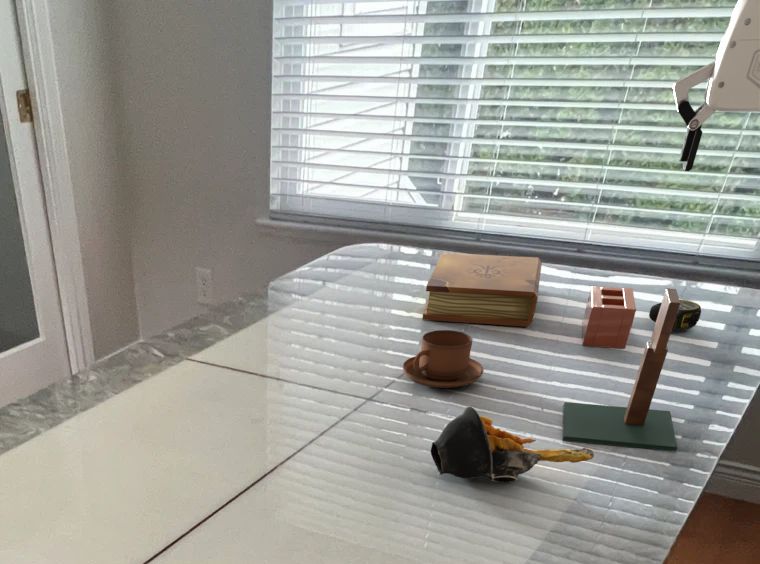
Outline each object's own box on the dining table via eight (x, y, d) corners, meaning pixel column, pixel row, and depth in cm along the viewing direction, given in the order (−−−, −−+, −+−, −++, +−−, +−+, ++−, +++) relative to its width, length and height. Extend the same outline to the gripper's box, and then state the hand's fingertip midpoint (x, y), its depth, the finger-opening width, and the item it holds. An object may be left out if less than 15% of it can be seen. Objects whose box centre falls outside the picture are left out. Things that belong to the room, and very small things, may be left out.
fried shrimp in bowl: (417, 423, 106) (558, 367, 104) (441, 506, 110) (578, 455, 107) (432, 424, 98) (586, 364, 95) (457, 515, 101) (607, 459, 98)
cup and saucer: (460, 401, 123) (467, 357, 119) (387, 384, 128) (391, 342, 124) (494, 375, 130) (502, 333, 126) (423, 360, 135) (429, 320, 131)
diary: (531, 328, 145) (538, 292, 141) (422, 320, 150) (426, 285, 146) (536, 289, 161) (543, 256, 158) (437, 284, 166) (442, 251, 162)
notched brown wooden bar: (641, 413, 116) (681, 288, 106) (644, 431, 112) (685, 303, 101) (623, 412, 117) (661, 287, 106) (625, 429, 113) (664, 301, 102)
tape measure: (644, 323, 146) (650, 300, 143) (680, 319, 146) (687, 296, 144) (666, 336, 141) (673, 312, 138) (703, 332, 141) (711, 308, 139)
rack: (622, 326, 145) (632, 288, 141) (625, 348, 137) (636, 309, 133) (582, 323, 147) (591, 286, 143) (582, 345, 138) (592, 306, 134)
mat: (668, 415, 117) (670, 411, 117) (675, 451, 109) (677, 447, 108) (563, 405, 121) (564, 401, 120) (562, 440, 112) (563, 436, 112)
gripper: (705, -19, 87) (654, 175, 99) (896, -26, 83) (819, 177, 95) (697, -22, 92) (649, 162, 104) (877, -29, 88) (806, 164, 100)
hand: (730, 169), depth 99 cm, fingers open, 9 cm apart
